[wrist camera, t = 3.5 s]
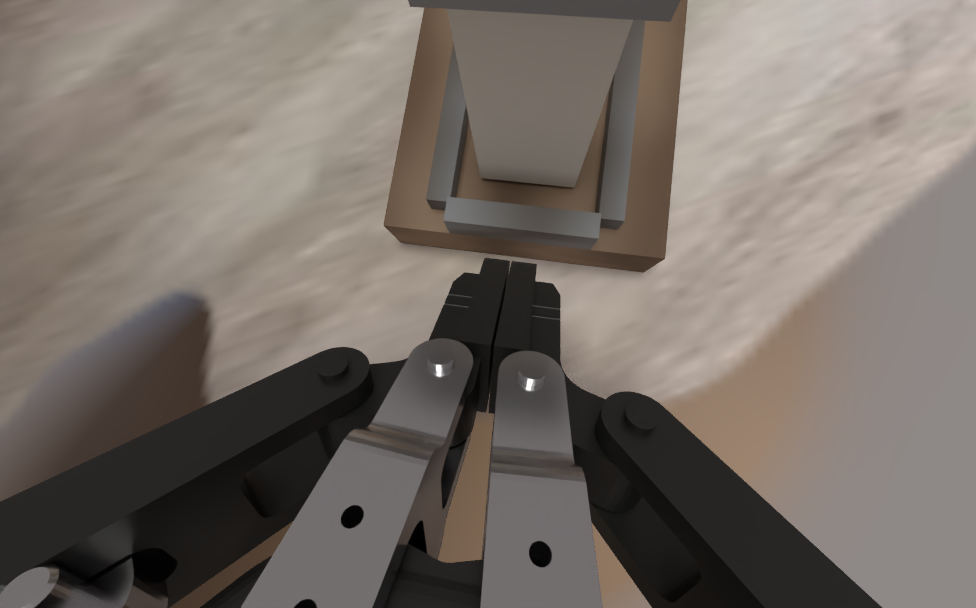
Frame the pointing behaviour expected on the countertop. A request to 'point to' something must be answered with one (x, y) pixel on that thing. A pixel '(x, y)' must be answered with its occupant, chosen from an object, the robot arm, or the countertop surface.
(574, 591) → the robot arm
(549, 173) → the fader tab
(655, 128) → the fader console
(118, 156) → the countertop surface
